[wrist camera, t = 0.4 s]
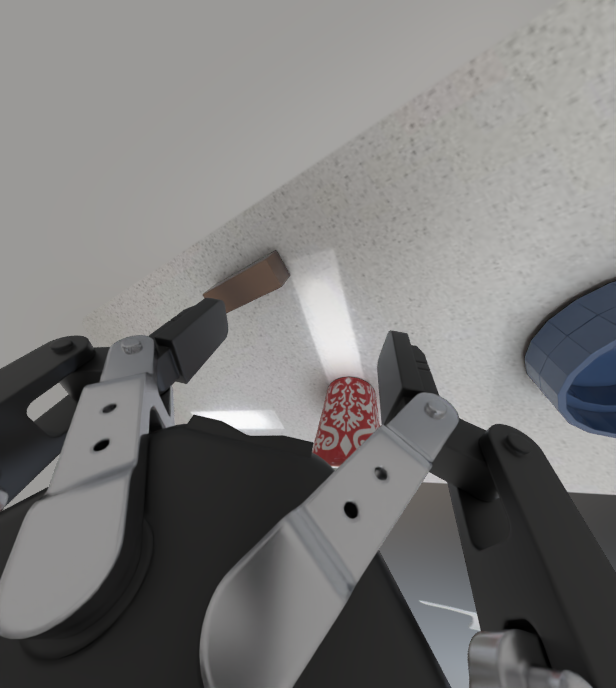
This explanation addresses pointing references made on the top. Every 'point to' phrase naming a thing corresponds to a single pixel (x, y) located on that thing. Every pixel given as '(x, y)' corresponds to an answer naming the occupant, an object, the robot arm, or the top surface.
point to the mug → (345, 420)
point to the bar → (250, 282)
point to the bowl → (579, 361)
